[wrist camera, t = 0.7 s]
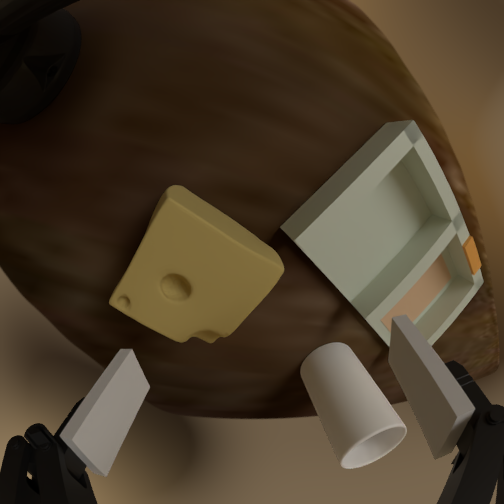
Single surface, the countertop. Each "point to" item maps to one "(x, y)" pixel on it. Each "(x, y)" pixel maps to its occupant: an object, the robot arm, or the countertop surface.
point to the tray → (392, 235)
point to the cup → (350, 406)
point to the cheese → (195, 271)
